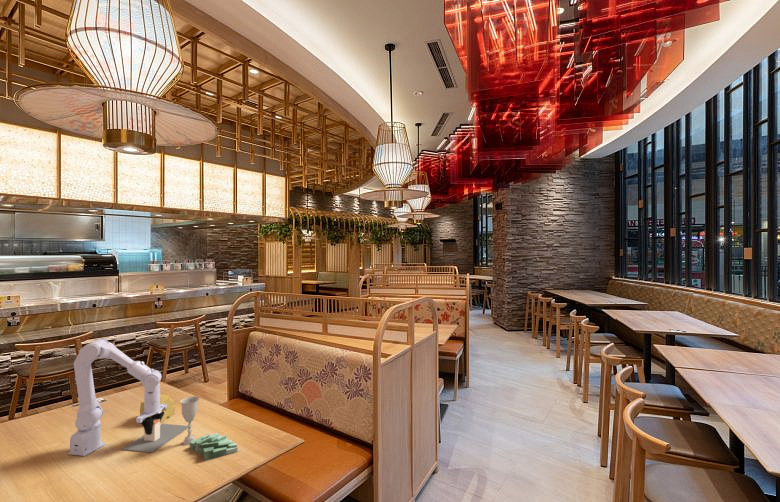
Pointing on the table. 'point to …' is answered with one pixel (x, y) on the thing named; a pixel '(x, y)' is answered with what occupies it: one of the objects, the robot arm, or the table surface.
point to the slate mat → (165, 436)
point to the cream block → (153, 431)
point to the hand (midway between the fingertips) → (152, 431)
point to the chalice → (189, 415)
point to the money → (213, 446)
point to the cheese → (167, 412)
